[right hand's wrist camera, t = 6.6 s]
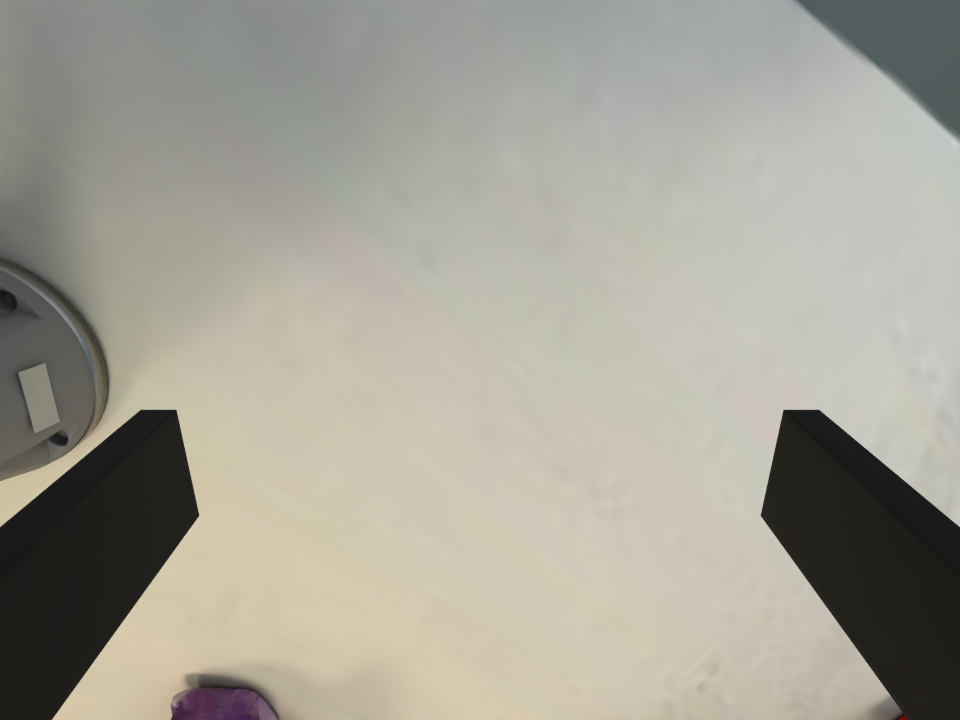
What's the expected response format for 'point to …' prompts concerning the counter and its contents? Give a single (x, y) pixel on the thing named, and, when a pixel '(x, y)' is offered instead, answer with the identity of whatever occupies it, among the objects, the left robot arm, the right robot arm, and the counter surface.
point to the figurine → (220, 705)
